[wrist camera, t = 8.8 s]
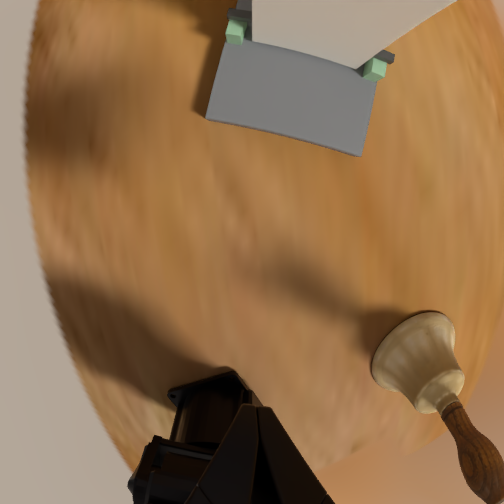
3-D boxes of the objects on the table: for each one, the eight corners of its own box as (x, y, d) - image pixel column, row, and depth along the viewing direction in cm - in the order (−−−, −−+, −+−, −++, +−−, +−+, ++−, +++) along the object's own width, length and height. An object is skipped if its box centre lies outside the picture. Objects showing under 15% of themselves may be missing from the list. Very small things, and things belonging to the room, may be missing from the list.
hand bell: (385, 402, 24) (442, 542, 8) (357, 347, 21) (436, 533, 6) (458, 356, 22) (543, 474, 7) (444, 292, 20) (574, 426, 5)
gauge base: (354, 156, 17) (400, 159, 11) (208, 120, 16) (185, 103, 10) (379, 28, 14) (422, -9, 8) (244, -9, 13) (241, -64, 8)
